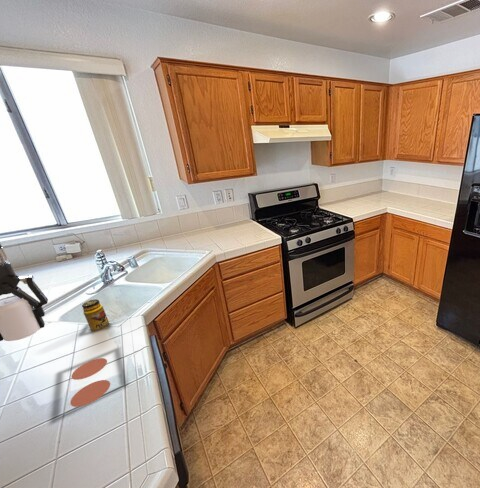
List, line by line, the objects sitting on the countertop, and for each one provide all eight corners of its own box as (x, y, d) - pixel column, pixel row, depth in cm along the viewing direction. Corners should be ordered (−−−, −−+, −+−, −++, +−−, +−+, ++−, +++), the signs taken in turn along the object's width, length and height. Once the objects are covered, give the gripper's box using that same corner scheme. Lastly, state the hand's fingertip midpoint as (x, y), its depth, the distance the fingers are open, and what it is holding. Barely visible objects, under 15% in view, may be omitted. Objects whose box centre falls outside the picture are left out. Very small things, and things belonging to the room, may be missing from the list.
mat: (55, 422, 69) (54, 420, 69) (60, 375, 84) (59, 373, 84) (124, 388, 78) (123, 386, 78) (117, 351, 94) (116, 349, 93)
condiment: (108, 329, 107) (98, 304, 103) (82, 336, 103) (70, 310, 99) (112, 320, 113) (103, 295, 109) (88, 326, 110) (77, 301, 106)
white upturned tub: (-1, 339, 80) (-20, 305, 76) (34, 324, 87) (19, 292, 83) (12, 345, 77) (-7, 310, 73) (48, 328, 84) (32, 295, 80)
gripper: (-79, 281, 65) (-34, 355, 72) (39, 258, 78) (67, 322, 85) (-67, 273, 70) (-27, 342, 78) (42, 252, 83) (68, 313, 91)
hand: (23, 332), depth 82 cm, fingers closed on white upturned tub, 8 cm apart
